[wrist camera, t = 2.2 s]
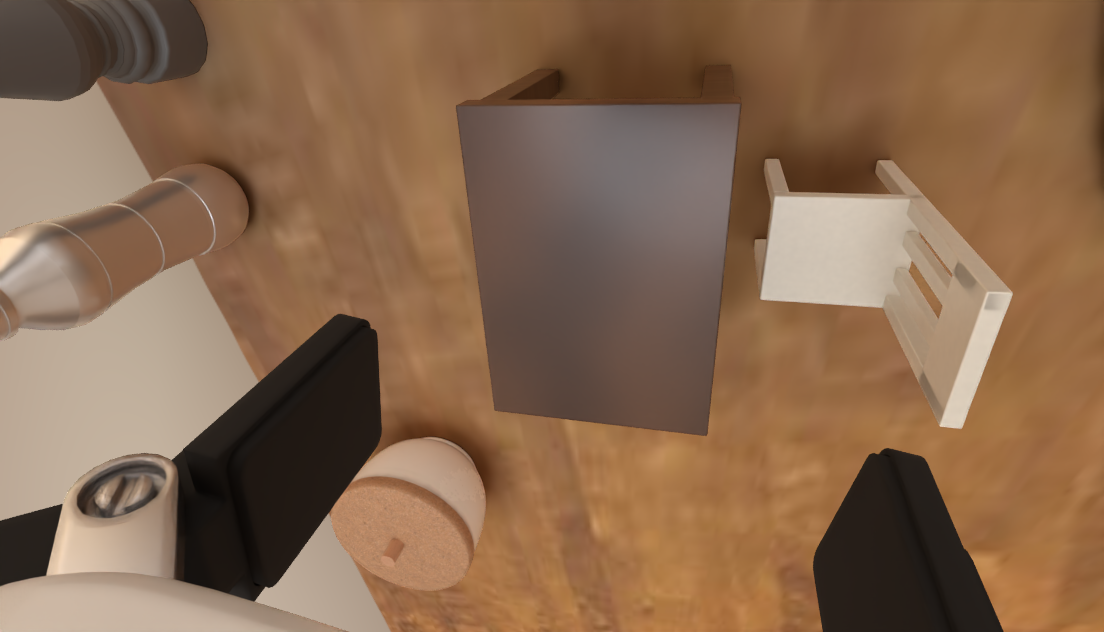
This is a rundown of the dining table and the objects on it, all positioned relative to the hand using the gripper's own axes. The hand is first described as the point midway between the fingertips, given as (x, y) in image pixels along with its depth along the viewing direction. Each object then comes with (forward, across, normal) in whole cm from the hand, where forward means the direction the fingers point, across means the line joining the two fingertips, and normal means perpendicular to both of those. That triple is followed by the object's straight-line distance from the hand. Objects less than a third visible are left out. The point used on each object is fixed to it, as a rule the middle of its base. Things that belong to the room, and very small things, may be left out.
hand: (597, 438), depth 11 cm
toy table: (+30, +2, +6) cm, 30 cm away
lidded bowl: (+30, +15, +35) cm, 49 cm away
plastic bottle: (+30, +34, +12) cm, 47 cm away
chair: (+29, -9, +4) cm, 31 cm away
